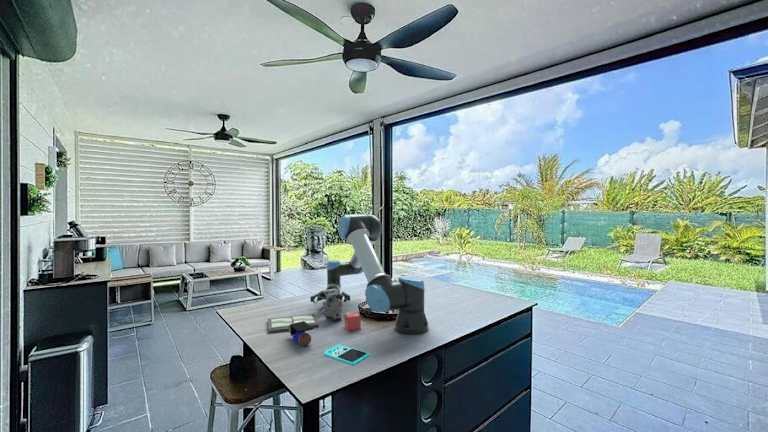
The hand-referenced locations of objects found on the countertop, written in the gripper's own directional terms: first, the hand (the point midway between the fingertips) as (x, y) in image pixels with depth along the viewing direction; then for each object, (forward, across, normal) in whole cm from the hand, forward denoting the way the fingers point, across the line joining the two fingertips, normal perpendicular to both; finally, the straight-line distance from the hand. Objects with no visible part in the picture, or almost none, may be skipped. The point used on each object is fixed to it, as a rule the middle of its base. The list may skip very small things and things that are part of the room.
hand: (329, 303), depth 170 cm
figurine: (+1, 0, -8) cm, 8 cm away
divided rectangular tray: (+6, +16, -8) cm, 19 cm away
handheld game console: (+40, -10, -9) cm, 42 cm away
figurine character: (+26, +10, -8) cm, 29 cm away
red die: (+13, -12, -8) cm, 19 cm away
